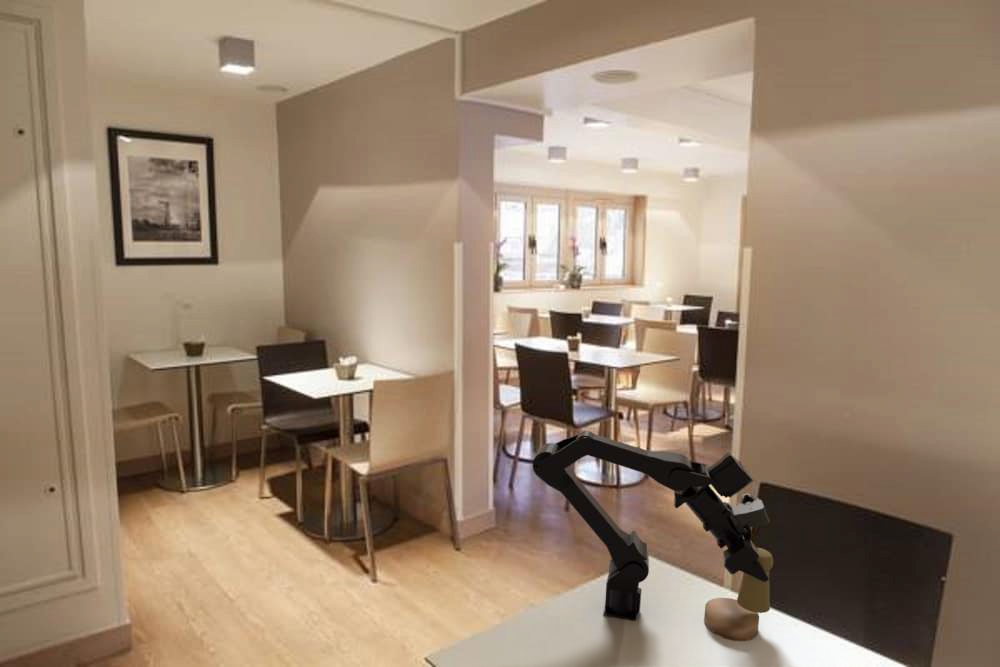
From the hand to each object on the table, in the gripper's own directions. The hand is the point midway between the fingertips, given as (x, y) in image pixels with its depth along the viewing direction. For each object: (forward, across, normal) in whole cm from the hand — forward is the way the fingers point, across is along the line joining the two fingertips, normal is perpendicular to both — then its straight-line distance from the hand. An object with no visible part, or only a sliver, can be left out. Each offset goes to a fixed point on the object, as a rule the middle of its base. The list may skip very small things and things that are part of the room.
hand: (764, 573), depth 126 cm
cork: (+4, 0, +6) cm, 7 cm away
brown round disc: (+5, 0, +12) cm, 13 cm away
